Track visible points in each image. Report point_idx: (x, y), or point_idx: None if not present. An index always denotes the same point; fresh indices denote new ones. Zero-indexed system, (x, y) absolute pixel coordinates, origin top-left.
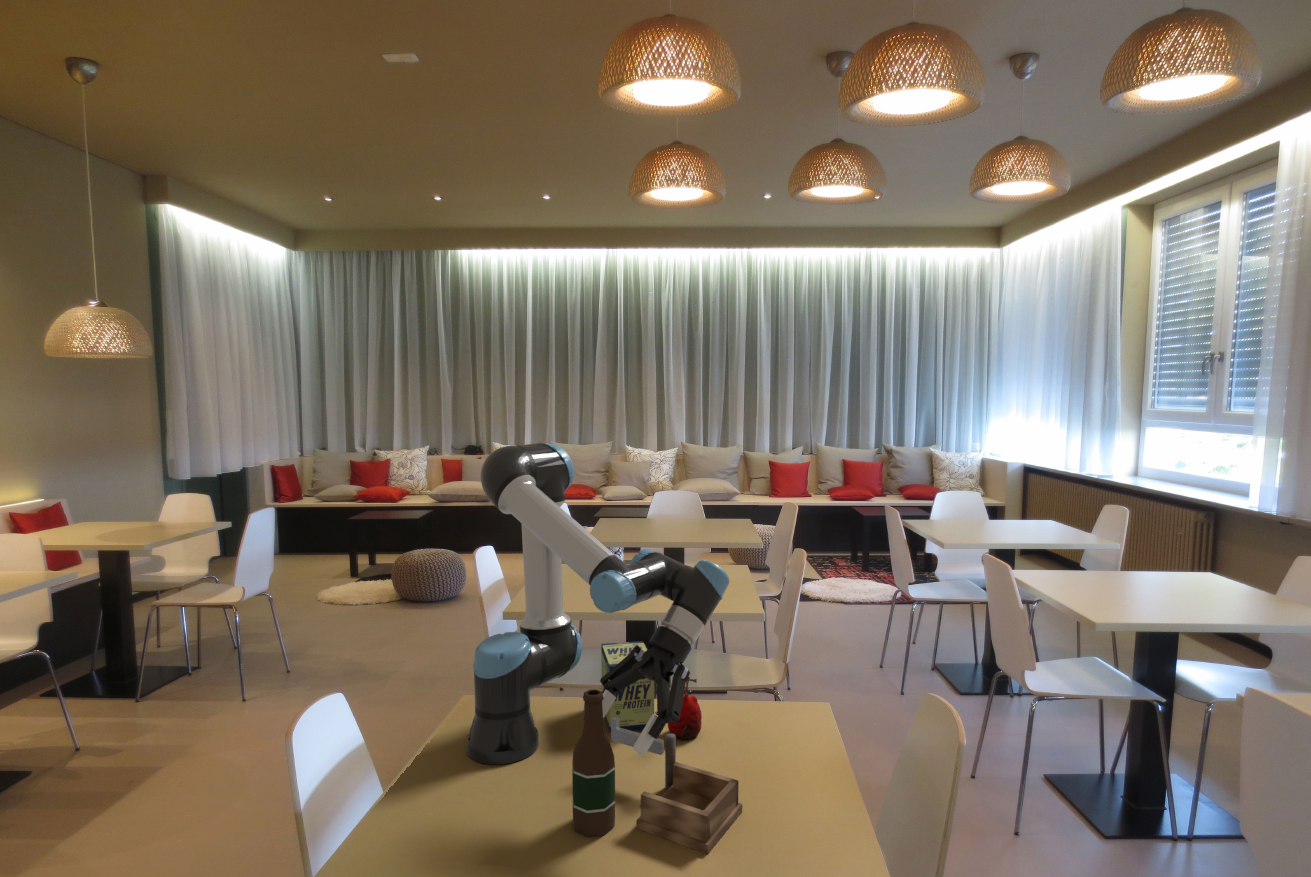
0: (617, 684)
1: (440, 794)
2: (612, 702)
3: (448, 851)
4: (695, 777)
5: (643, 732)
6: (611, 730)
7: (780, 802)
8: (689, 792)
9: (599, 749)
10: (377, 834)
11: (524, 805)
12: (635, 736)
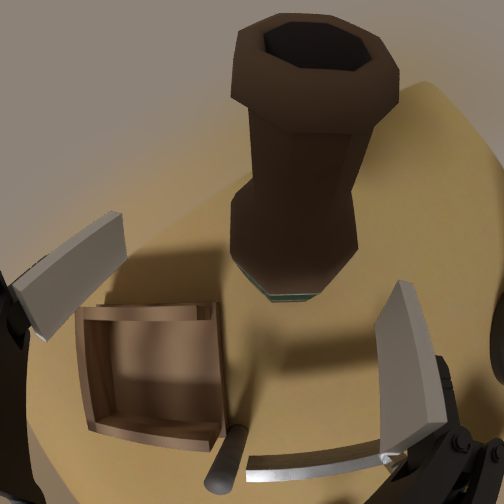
0: (397, 494)
1: (489, 197)
2: (382, 425)
3: (390, 121)
4: (161, 431)
5: (72, 240)
6: None
7: (94, 452)
8: (184, 421)
9: (246, 186)
10: (455, 116)
11: (413, 240)
12: (325, 463)
